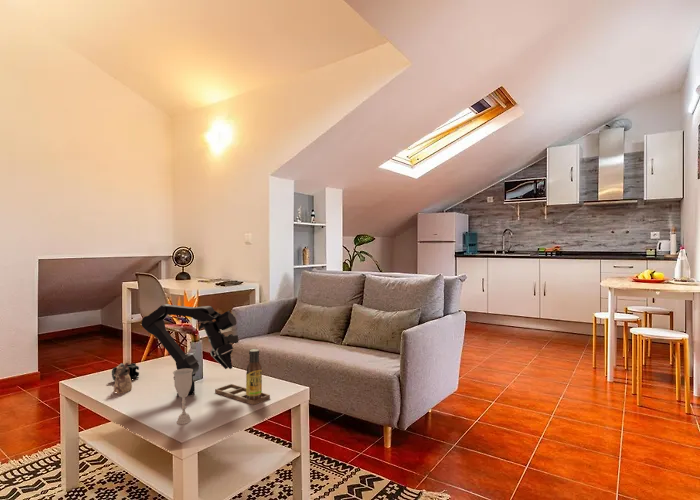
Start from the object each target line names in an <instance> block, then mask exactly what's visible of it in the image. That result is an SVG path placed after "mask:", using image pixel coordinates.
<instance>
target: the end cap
mask: <svg viewBox="0 0 700 500" xmlns="http://www.w3.org/2000/svg"><path fill="white" fill-rule="evenodd" d="M127 367H128V368H129V370H130V372H129V376H130V378H131V381H133V380H132V379H135V380H137V379H136V378H139V376H140V372H139V370H140V366H138V365H137V364H136V363H135V362H134V363H129V364H128V365H127ZM116 369H117V366H116V367H113V368H112V370H111V377H112V380H113V381H114V382H115V379H116V377H115V376H114V375H115V373H116ZM127 371H128V370H127V369H126V370H125V372H127Z"/></svg>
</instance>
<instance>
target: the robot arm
mask: <svg viewBox="0 0 700 500" xmlns="http://www.w3.org/2000/svg"><path fill="white" fill-rule="evenodd" d="M168 315H171V316H179V317H189V318H192V319H193V320H196V321H199V322H200V325H199V327H198V330H201V329H204V331H205V334H206V337H207V339H208V340H207V342H208V343H210V346H211V350H210V351H209V353H210V356H211V357H212V358H213V359H214V360H215V361H216V362H217V363H218V364H219V365H220V366H221V367H223V369H225V370H227V369H230V370H231V369H233V361H232V353H233V351H234V346H233V344H237V343H239V335H238V334H237V335H233V334H231V333H229V334H227V335H225V334H224V333H222V331H225V330H228V329H230V328H232V327H235V326H236V325H237V318H236V317H235V315H234V314H233V313H231V311H230V310H227V311H225V312H223V313H220V312H218V311H216V310H215V309H214V307H213V306H211V305H202V306H195V307H194V306H186V305H175V304H169V303H165V304H162V305H161V304H160V306H159V307H158V308H157V309H156V310H154V311H152V312H151V313H149V314H148V315H146V316H143V318H142V319H141V326H142V328H143V329H144V330H145V331H146V332H147V333H149V334H151V335H153V336H155V337H156V339H157V340H158V341H159V342H160V344H161V345H162V346H163V347H164V349H165V350H166V352H167V353H168V354H169V355H170V357H172V359H173V360H174V362H175V366H176V370H179V369H185V368H189V369H193V371H192V385H191V388H190V391H189V393H188V395H187V396H190V395H194V394H195V391H196V390H195V385H196V383H195V380H194V377H195V376H196V374H197V372H198V371H199V369H200V364H199V360H197V359H196V357H195V355H194V354H190V355H188V354H186V353H185V351H184V350H183V349H182V348H181V346H180V345H179V344H178V343H177V342H176V340H175V339H174V337H173V336H172V335H171V333H170V332H169V331H168V330H167V329H166V324H165V321H164V320H165V319H166V318H167V317H168ZM173 379H174V376H173ZM176 396H177V397H180V396H179V395H178V393H177V392H176Z"/></svg>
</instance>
